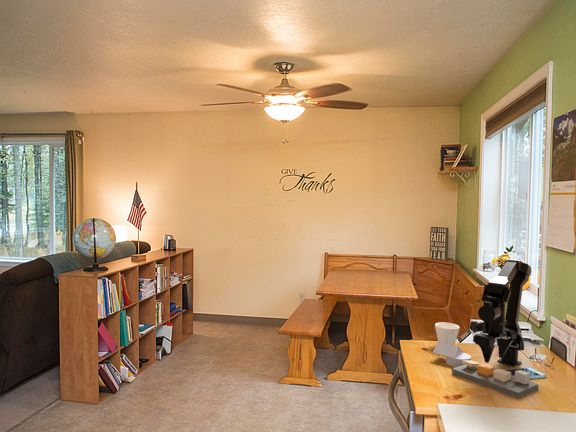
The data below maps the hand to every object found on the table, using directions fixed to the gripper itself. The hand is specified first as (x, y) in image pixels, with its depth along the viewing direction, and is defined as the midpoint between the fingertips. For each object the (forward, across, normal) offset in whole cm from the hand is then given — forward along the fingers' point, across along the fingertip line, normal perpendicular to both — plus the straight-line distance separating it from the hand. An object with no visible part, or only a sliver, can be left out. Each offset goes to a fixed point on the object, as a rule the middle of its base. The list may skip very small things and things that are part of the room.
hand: (493, 360), depth 164 cm
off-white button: (+4, +5, +6) cm, 9 cm away
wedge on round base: (+6, 0, -16) cm, 17 cm away
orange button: (+4, +5, 0) cm, 6 cm away
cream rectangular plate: (+2, +5, -6) cm, 8 cm away
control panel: (+6, +5, +3) cm, 8 cm away
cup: (+6, -14, -29) cm, 32 cm away
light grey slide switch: (+3, +2, +11) cm, 12 cm away
